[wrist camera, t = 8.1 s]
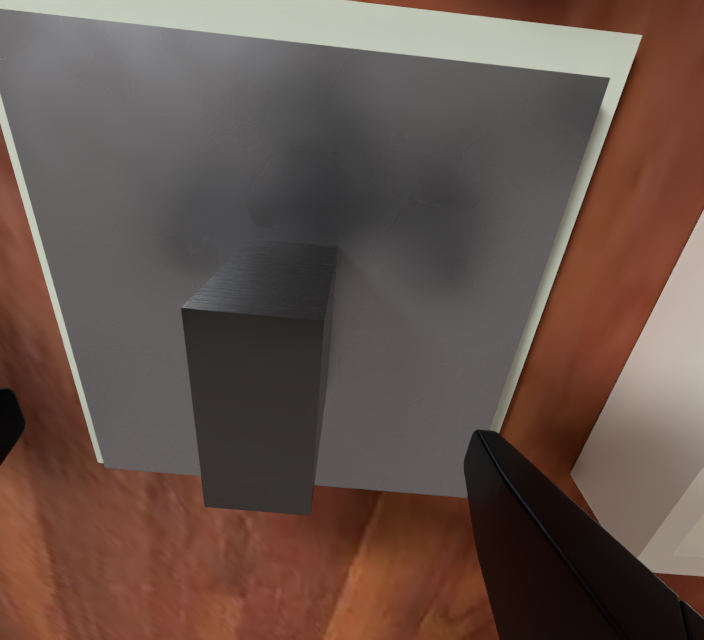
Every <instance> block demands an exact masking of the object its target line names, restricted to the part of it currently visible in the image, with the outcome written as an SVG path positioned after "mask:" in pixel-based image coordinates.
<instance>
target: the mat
mask: <svg viewBox="0 0 704 640" xmlns="http://www.w3.org/2000/svg"><path fill="white" fill-rule="evenodd" d="M0 9H8V10H16V11H25V12H34V13H43V14H52V15H61V16H69V17H78V18H87V19H96V20H105V21H114V22H122V23H131V24H140V25H149V26H158V27H167V28H175V29H184V30H193V31H202V32H211V33H220V34H228V35H237V36H246V37H255V38H264V39H273V40H281V41H290V42H299V43H308V44H317V45H326V46H334V47H343V48H352V49H361V50H370V51H378V52H387V53H396V54H405V55H414V56H423V57H431V58H440V59H449V60H458V61H467V62H476V63H484V64H493V65H502V66H511V67H520V68H529V69H537V70H546V71H555V72H564V73H573V74H582V75H590V76H599V77H608V78H610V81H609V83H608V86H607V89H606V92H605V95H604V98H603V101H602V104H601V107H600V110H599V113H598V116H597V118H596V121H595V124H594V127H593V130H592V133H591V136H590V139H589V142H588V145H587V148H586V150H585V153H584V156H583V159H582V162H581V165H580V168H579V171H578V174H577V177H576V180H575V183H574V185H573V188H572V191H571V194H570V197H569V200H568V203H567V206H566V209H565V212H564V215H563V218H562V220H561V223H560V226H559V229H558V232H557V235H556V238H555V241H554V244H553V247H552V250H551V252H550V255H549V258H548V261H547V264H546V267H545V270H544V273H543V276H542V279H541V282H540V285H539V287H538V290H537V293H536V296H535V299H534V302H533V305H532V308H531V311H530V314H529V317H528V320H527V322H526V325H525V328H524V331H523V334H522V337H521V340H520V343H519V346H518V349H517V352H516V354H515V357H514V360H513V363H512V366H511V369H510V372H509V375H508V378H507V381H506V384H505V387H504V389H503V392H502V395H501V398H500V401H499V404H498V407H497V410H496V413H495V416H494V419H493V422H492V424H491V427H490V430H492V431H496V432H497V433H499V432H500V429H501V426H502V423H503V420H504V418H505V415H506V412H507V409H508V407H509V404H510V401H511V398H512V395H513V393H514V390H515V387H516V384H517V382H518V379H519V376H520V373H521V371H522V368H523V365H524V362H525V359H526V357H527V354H528V351H529V348H530V346H531V343H532V340H533V337H534V334H535V332H536V329H537V326H538V323H539V321H540V318H541V315H542V312H543V310H544V307H545V304H546V301H547V298H548V296H549V293H550V290H551V287H552V285H553V282H554V279H555V276H556V273H557V271H558V268H559V265H560V262H561V260H562V257H563V254H564V251H565V249H566V246H567V243H568V240H569V237H570V235H571V232H572V229H573V226H574V224H575V221H576V218H577V215H578V212H579V210H580V207H581V204H582V201H583V199H584V196H585V193H586V190H587V188H588V185H589V182H590V179H591V176H592V174H593V171H594V168H595V165H596V163H597V160H598V157H599V154H600V151H601V149H602V146H603V143H604V140H605V138H606V135H607V132H608V129H609V126H610V124H611V121H612V118H613V115H614V113H615V110H616V107H617V104H618V102H619V99H620V96H621V93H622V90H623V88H624V85H625V82H626V79H627V77H628V74H629V71H630V68H631V65H632V63H633V60H634V57H635V54H636V52H637V49H638V46H639V43H640V41H641V38H642V35H636V34H627V33H619V32H610V31H602V30H593V29H585V28H576V27H567V26H559V25H550V24H542V23H533V22H525V21H516V20H508V19H499V18H491V17H482V16H474V15H465V14H457V13H448V12H440V11H431V10H423V9H414V8H406V7H397V6H389V5H380V4H372V3H363V2H355V1H346V0H0ZM0 124H1V127H2V131H3V134H4V138H5V141H6V145H7V148H8V152H9V155H10V159H11V162H12V166H13V169H14V172H15V176H16V179H17V183H18V186H19V190H20V193H21V197H22V200H23V204H24V207H25V211H26V214H27V218H28V221H29V225H30V228H31V232H32V235H33V239H34V242H35V246H36V249H37V252H38V256H39V259H40V263H41V266H42V270H43V273H44V277H45V280H46V284H47V287H48V291H49V294H50V298H51V301H52V305H53V308H54V312H55V315H56V319H57V322H58V325H59V329H60V332H61V336H62V339H63V343H64V346H65V350H66V353H67V357H68V360H69V364H70V367H71V371H72V374H73V378H74V381H75V385H76V388H77V392H78V395H79V398H80V402H81V405H82V409H83V412H84V416H85V419H86V423H87V426H88V430H89V433H90V437H91V440H92V444H93V447H94V451H95V454H96V458H97V461H98V463H103V459H102V456H101V452H100V449H99V445H98V441H97V438H96V434H95V431H94V427H93V424H92V420H91V416H90V413H89V409H88V406H87V402H86V399H85V395H84V391H83V388H82V384H81V381H80V377H79V374H78V370H77V366H76V363H75V359H74V356H73V352H72V348H71V345H70V341H69V338H68V334H67V331H66V327H65V323H64V320H63V316H62V313H61V309H60V306H59V302H58V298H57V295H56V291H55V288H54V284H53V280H52V277H51V273H50V270H49V266H48V263H47V259H46V255H45V252H44V248H43V245H42V241H41V238H40V234H39V230H38V227H37V223H36V220H35V216H34V213H33V209H32V205H31V202H30V198H29V195H28V191H27V187H26V184H25V180H24V177H23V173H22V170H21V166H20V162H19V159H18V155H17V152H16V148H15V145H14V141H13V137H12V134H11V130H10V127H9V123H8V120H7V116H6V112H5V109H4V105H3V102H2V98H1V94H0Z"/></svg>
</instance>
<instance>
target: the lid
mask: <svg viewBox="0 0 704 640" xmlns="http://www.w3.org/2000/svg"><path fill="white" fill-rule="evenodd" d="M609 81H610V78H608V77H599V76H590V75H582V74H573V73H564V72H555V71H546V70H537V69H529V68H520V67H511V66H502V65H493V64H484V63H476V62H467V61H458V60H449V59H440V58H431V57H423V56H414V55H405V54H396V53H387V52H378V51H370V50H361V49H352V48H343V47H334V46H326V45H317V44H308V43H299V42H290V41H281V40H273V39H264V38H255V37H246V36H237V35H228V34H220V33H211V32H202V31H193V30H184V29H175V28H167V27H158V26H149V25H140V24H131V23H122V22H114V21H105V20H96V19H87V18H78V17H69V16H61V15H52V14H43V13H34V12H25V11H16V10H8V9H0V94H1V98H2V102H3V105H4V109H5V112H6V116H7V120H8V123H9V127H10V130H11V134H12V137H13V141H14V145H15V148H16V152H17V155H18V159H19V162H20V166H21V170H22V173H23V177H24V180H25V184H26V187H27V191H28V195H29V198H30V202H31V205H32V209H33V213H34V216H35V220H36V223H37V227H38V230H39V234H40V238H41V241H42V245H43V248H44V252H45V255H46V259H47V263H48V266H49V270H50V273H51V277H52V280H53V284H54V288H55V291H56V295H57V298H58V302H59V306H60V309H61V313H62V316H63V320H64V323H65V327H66V331H67V334H68V338H69V341H70V345H71V348H72V352H73V356H74V359H75V363H76V366H77V370H78V374H79V377H80V381H81V384H82V388H83V391H84V395H85V399H86V402H87V406H88V409H89V413H90V416H91V420H92V424H93V427H94V431H95V434H96V438H97V441H98V445H99V449H100V452H101V456H102V459H103V463H104V467H105V468H113V469H125V470H137V471H149V472H161V473H173V474H185V475H197V476H201V479H202V487H203V496H204V504H205V507H212V508H225V509H237V510H250V511H262V512H274V513H287V514H299V515H311V508H312V500H313V492H314V485H318V486H330V487H342V488H354V489H366V490H378V491H390V492H402V493H415V494H427V495H439V496H451V497H463V498H466V497H467V488H466V482H465V475H464V458H465V455H466V452H467V449H468V446H469V442H470V439H471V436H472V434H473V432H474V431H475V430H477V429H480V430H490V427H491V424H492V422H493V419H494V416H495V413H496V410H497V407H498V404H499V401H500V398H501V395H502V392H503V389H504V387H505V384H506V381H507V378H508V375H509V372H510V369H511V366H512V363H513V360H514V357H515V354H516V352H517V349H518V346H519V343H520V340H521V337H522V334H523V331H524V328H525V325H526V322H527V320H528V317H529V314H530V311H531V308H532V305H533V302H534V299H535V296H536V293H537V290H538V287H539V285H540V282H541V279H542V276H543V273H544V270H545V267H546V264H547V261H548V258H549V255H550V252H551V250H552V247H553V244H554V241H555V238H556V235H557V232H558V229H559V226H560V223H561V220H562V218H563V215H564V212H565V209H566V206H567V203H568V200H569V197H570V194H571V191H572V188H573V185H574V183H575V180H576V177H577V174H578V171H579V168H580V165H581V162H582V159H583V156H584V153H585V150H586V148H587V145H588V142H589V139H590V136H591V133H592V130H593V127H594V124H595V121H596V118H597V116H598V113H599V110H600V107H601V104H602V101H603V98H604V95H605V92H606V89H607V86H608V83H609Z"/></svg>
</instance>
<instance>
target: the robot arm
mask: <svg viewBox="0 0 704 640" xmlns="http://www.w3.org/2000/svg"><path fill="white" fill-rule="evenodd" d="M25 425H26V421H25V417H24V415H23V412H22V409H21V407H20V404H19V401H18V399H17V396H16V394H15V392H14V391H13V390H12V389H9V388H5V387H0V465H1V464H2V463H3V461H4V460H5V458H6V457H7V455H8V454H9V452H10V451H11V450H12V448H13V447H14V445H15V444H16V442H17V441H18V440H19V438H20V437H21V435H22V434H23V432H24V429H25ZM464 475H465V482H466V488H467V495H468V501H469V508H470V514H471V521H472V527H473V534H474V540H475V545H476V550H477V555H478V559H479V563H480V567H481V571H482V575H483V578H484V582H485V586H486V590H487V594H488V597H489V601H490V605H491V609H492V613H493V617H494V620H495V624H496V628H497V632H498V636H499V640H704V618H703V617H702V616H701V615H700V614H699V613H697V612H696V611H695V610H694V609H693V608H692V607H691V606H690V605H689V604H687V603H686V602H685V601H683V600H679V596H678V595H677V594H676V593H675V592H674V591H673V590H672V589H671V588H669V587H668V586H667V585H666V584H665V583H664V582H663V581H662V580H661V579H660V578H658V577H657V576H656V575H655V574H654V573H653V572H652V571H651V570H650V569H648V568H647V567H646V566H645V565H644V564H643V563H642V562H641V561H640V560H638V559H637V558H636V557H635V556H634V555H633V554H632V553H631V552H630V551H628V550H627V549H626V548H625V547H624V546H623V545H622V544H621V543H620V542H619V541H617V540H616V539H615V538H614V537H613V536H612V535H611V534H610V533H609V532H607V531H606V530H605V529H604V528H603V527H602V526H601V525H600V524H599V523H597V522H596V521H595V520H594V519H593V518H592V517H591V516H590V515H589V514H587V513H586V512H585V511H584V510H583V509H582V508H581V507H580V506H579V505H577V504H576V503H575V502H574V501H573V500H572V499H571V498H570V497H569V496H568V495H566V494H565V493H564V492H563V491H562V490H561V489H560V488H559V487H558V486H556V485H555V484H554V483H553V482H552V481H551V480H550V479H549V478H548V477H546V476H545V475H544V474H543V473H542V472H541V471H540V470H539V469H538V468H536V467H535V466H534V465H533V464H532V463H531V462H530V461H529V460H528V459H527V458H525V457H524V456H523V455H522V454H521V453H520V452H519V451H518V450H517V449H515V448H514V447H513V446H512V445H511V444H510V443H509V442H508V441H507V440H505V439H504V438H503V437H502V436H501V435H500V434H499V433H497V432H496V431H492V430H480V429H477V430H475V431H474V432H473V434H472V436H471V439H470V442H469V446H468V449H467V452H466V455H465V458H464Z"/></svg>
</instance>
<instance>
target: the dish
mask: <svg viewBox="0 0 704 640" xmlns="http://www.w3.org/2000/svg"><path fill="white" fill-rule="evenodd" d="M570 475H571V477H572V478H573V480H574V482H575V483H576V485H577V487H578V488H579V490H580V492H581V493H582V495H583V497H584V498H585V500H586V502H587V503H588V505H589V506H590V508H591V510H592V511H593V513H594V515H595V516H596V518H597V520H598V521H599V523H600V525H601V526H602V527H603V528H604V529H605V530H606V531H607V532H609V533H610V534H611V535H612V536H613V537H614V538H615V539H616V540H617V541H619V542H620V543H621V544H622V545H623V546H624V547H625V548H626V549H627V550H628V551H630V552H631V553H632V554H633V555H634V556H635V557H636V558H637V559H638V560H640V561H641V562H642V563H643V564H644V565H645V566H646V567H647V568H648V569H650V570H651V571H652V572H653V573H665V574H678V575H691V576H703V577H704V210H703V212H702V214H701V216H700V218H699V220H698V222H697V224H696V226H695V228H694V230H693V232H692V234H691V236H690V238H689V240H688V242H687V244H686V246H685V248H684V250H683V252H682V254H681V256H680V258H679V260H678V262H677V264H676V266H675V267H674V269H673V271H672V273H671V275H670V277H669V279H668V281H667V283H666V285H665V287H664V289H663V291H662V293H661V295H660V297H659V299H658V301H657V303H656V305H655V307H654V309H653V311H652V313H651V315H650V317H649V319H648V321H647V323H646V325H645V327H644V329H643V331H642V333H641V335H640V337H639V339H638V341H637V343H636V345H635V347H634V349H633V351H632V352H631V354H630V356H629V358H628V360H627V362H626V364H625V366H624V368H623V370H622V372H621V374H620V376H619V378H618V380H617V382H616V384H615V386H614V388H613V390H612V392H611V394H610V396H609V398H608V400H607V402H606V404H605V406H604V408H603V410H602V412H601V414H600V416H599V418H598V420H597V422H596V424H595V426H594V428H593V430H592V432H591V434H590V436H589V437H588V439H587V441H586V443H585V445H584V447H583V449H582V451H581V453H580V455H579V457H578V459H577V461H576V463H575V465H574V467H573V469H572V471H571V473H570Z"/></svg>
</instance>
